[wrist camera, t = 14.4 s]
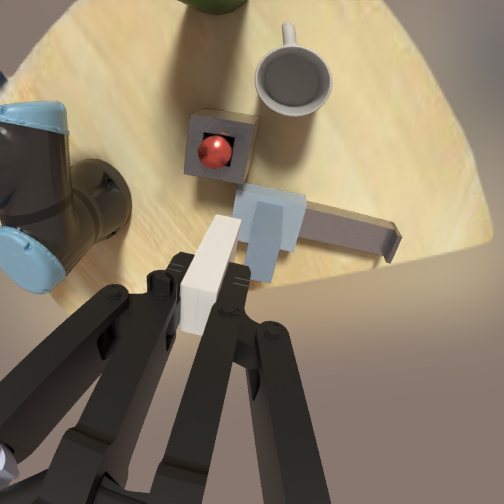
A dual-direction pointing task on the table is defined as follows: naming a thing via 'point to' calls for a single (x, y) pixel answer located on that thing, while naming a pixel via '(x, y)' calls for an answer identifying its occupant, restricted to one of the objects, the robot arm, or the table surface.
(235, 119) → the grey cube box
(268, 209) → the carriage
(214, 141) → the plunger
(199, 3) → the bottle
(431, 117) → the table surface
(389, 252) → the rail
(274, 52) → the mug
